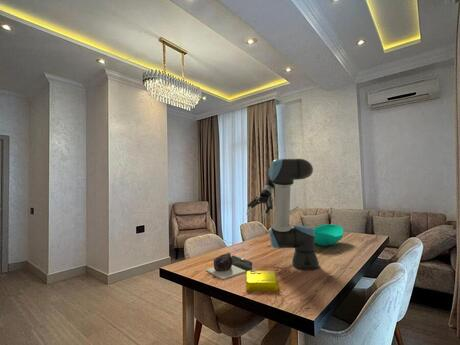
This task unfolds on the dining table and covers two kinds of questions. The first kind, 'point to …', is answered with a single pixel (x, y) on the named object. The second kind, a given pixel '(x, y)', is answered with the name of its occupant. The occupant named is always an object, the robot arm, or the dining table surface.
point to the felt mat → (226, 272)
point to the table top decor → (328, 234)
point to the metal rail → (242, 263)
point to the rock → (223, 262)
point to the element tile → (261, 281)
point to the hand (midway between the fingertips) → (255, 215)
